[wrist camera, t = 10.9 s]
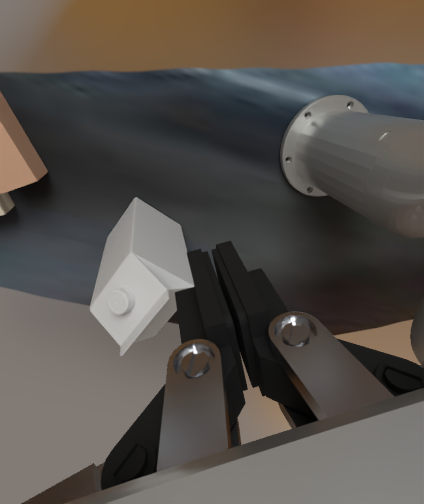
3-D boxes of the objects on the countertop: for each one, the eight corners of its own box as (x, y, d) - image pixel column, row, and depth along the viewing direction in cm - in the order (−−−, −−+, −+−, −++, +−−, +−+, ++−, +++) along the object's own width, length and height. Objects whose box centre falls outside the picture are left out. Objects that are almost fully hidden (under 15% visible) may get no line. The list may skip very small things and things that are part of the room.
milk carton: (180, 224, 42) (203, 315, 25) (152, 262, 44) (155, 369, 27) (135, 195, 39) (128, 277, 22) (106, 237, 41) (80, 341, 24)
